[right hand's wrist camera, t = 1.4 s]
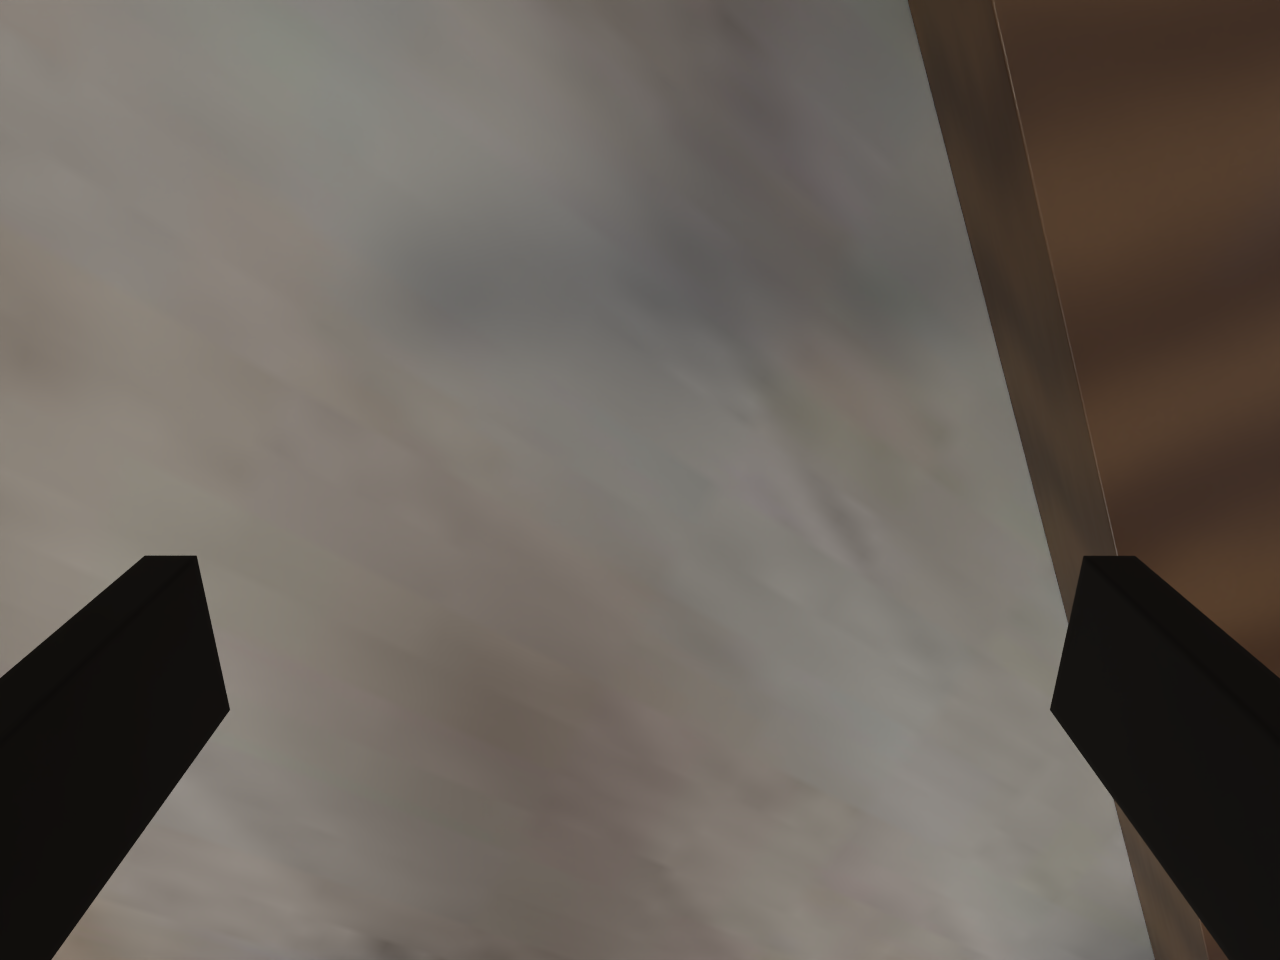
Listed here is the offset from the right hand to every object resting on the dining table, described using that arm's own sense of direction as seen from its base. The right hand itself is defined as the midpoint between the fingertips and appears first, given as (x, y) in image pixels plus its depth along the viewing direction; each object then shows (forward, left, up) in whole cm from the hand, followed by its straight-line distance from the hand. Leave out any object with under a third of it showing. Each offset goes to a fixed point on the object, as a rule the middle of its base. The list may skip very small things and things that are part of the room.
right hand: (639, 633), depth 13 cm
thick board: (-1, +25, -20) cm, 32 cm away
